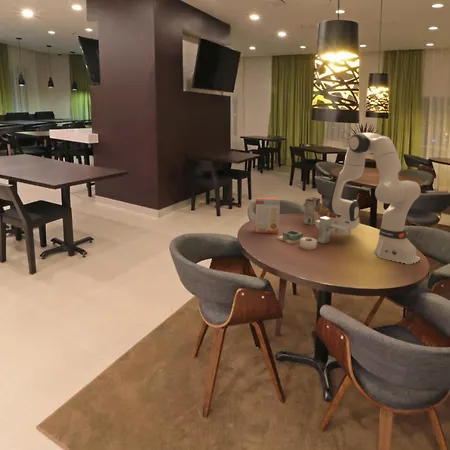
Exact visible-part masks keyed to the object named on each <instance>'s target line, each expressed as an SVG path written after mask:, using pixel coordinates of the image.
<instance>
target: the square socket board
mask: <svg viewBox="0 0 450 450" xmlns="http://www.w3.org/2000/svg"><path fill="white" fill-rule="evenodd" d="M303 237H304V233H303V232H300V231H297V230H294V229H290V230H288V231H287V230H285V231H283V232H282V235H279V236H277V240H279V241H283V242H285V243H288V244H291V245H293V246H294V245H297V244H298V245H299V244H300V239H301V238H303Z"/></svg>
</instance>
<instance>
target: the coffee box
mask: <svg viewBox="0 0 450 450" xmlns="http://www.w3.org/2000/svg"><path fill="white" fill-rule="evenodd" d="M320 207H321V198H319V197H315V196H314V197H313V196H311V197H308V198H306V199H305V202H304V212H303V214H304V215H303V224H306V225H311V226H313V225H315V223H316V221H317V220H320Z"/></svg>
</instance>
